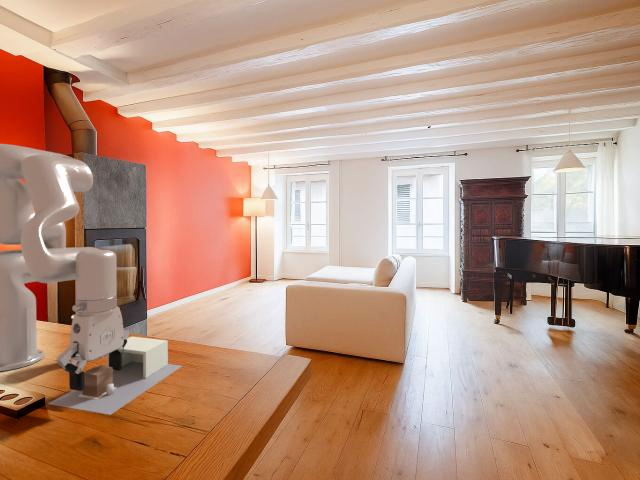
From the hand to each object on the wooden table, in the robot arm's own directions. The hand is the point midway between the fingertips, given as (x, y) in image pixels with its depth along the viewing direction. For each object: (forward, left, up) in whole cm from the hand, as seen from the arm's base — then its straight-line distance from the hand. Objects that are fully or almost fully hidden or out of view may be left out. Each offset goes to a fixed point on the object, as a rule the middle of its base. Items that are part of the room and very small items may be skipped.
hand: (97, 378), depth 72 cm
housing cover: (0, +12, -3) cm, 12 cm away
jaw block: (0, 0, -3) cm, 3 cm away
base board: (+2, +5, -4) cm, 7 cm away
